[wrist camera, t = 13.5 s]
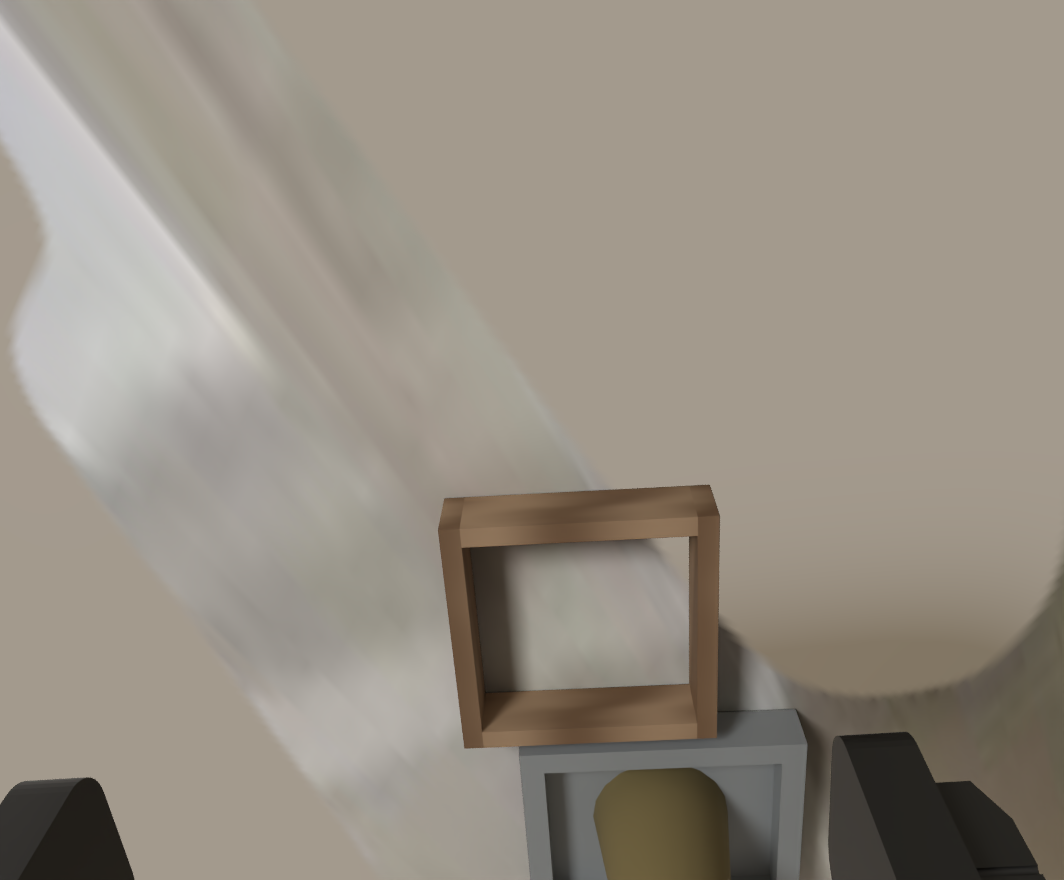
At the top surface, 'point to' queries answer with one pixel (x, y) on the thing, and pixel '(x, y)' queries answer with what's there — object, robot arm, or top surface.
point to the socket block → (595, 708)
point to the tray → (730, 760)
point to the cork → (663, 826)
